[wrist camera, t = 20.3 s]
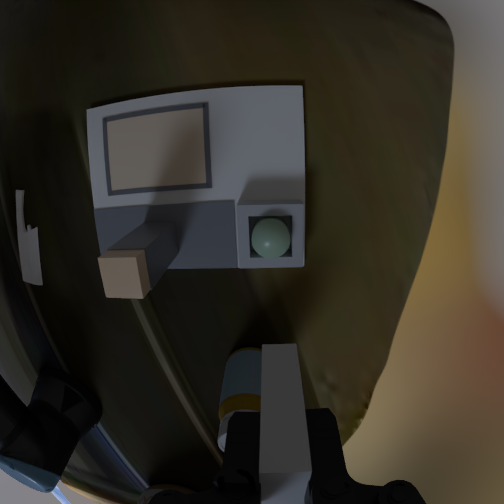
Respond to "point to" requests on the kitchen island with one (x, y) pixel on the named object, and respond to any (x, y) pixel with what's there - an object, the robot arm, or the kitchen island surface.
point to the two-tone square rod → (138, 260)
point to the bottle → (240, 387)
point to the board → (202, 171)
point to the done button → (270, 236)
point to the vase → (157, 488)
